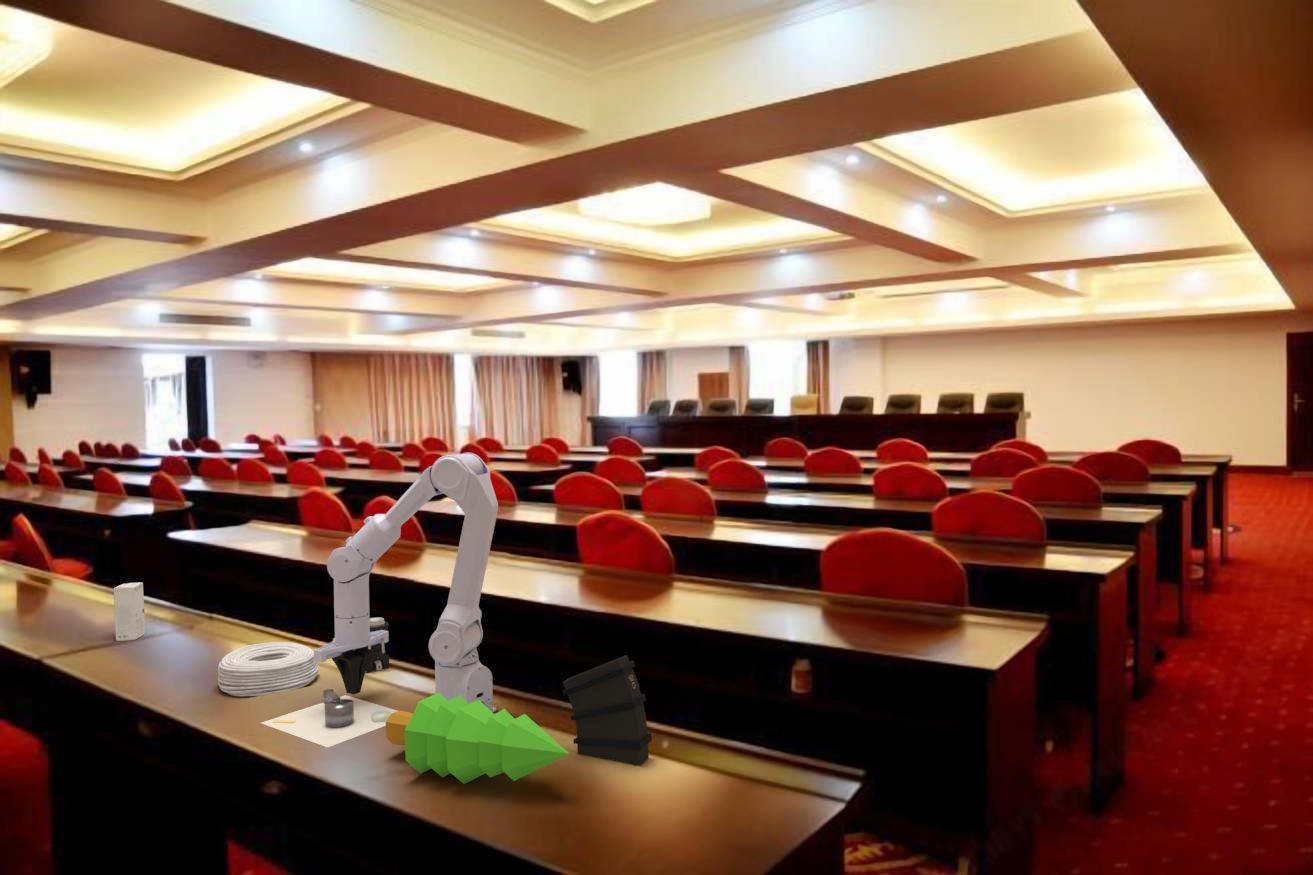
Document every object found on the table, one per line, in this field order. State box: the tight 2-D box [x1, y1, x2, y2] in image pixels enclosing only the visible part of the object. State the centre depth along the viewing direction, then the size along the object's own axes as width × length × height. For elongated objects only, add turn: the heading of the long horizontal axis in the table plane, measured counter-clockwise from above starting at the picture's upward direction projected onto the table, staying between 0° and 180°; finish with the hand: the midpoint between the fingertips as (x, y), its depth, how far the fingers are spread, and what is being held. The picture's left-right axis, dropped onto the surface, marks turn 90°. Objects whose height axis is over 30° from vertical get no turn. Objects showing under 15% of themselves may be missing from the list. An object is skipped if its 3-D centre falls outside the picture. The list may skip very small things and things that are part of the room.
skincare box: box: [113, 582, 146, 642], centre depth 194 cm, size 6×4×12 cm
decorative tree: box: [385, 693, 570, 785], centre depth 119 cm, size 11×12×30 cm
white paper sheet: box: [260, 694, 398, 748], centre depth 139 cm, size 18×16×2 cm
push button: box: [365, 616, 390, 673], centre depth 169 cm, size 7×5×10 cm
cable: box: [217, 641, 320, 697], centre depth 161 cm, size 18×18×6 cm
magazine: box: [561, 654, 653, 766], centre depth 127 cm, size 4×13×15 cm, turn 64°
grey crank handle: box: [322, 688, 354, 727], centre depth 139 cm, size 10×4×3 cm, turn 36°
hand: (353, 692), depth 148 cm, fingers closed
